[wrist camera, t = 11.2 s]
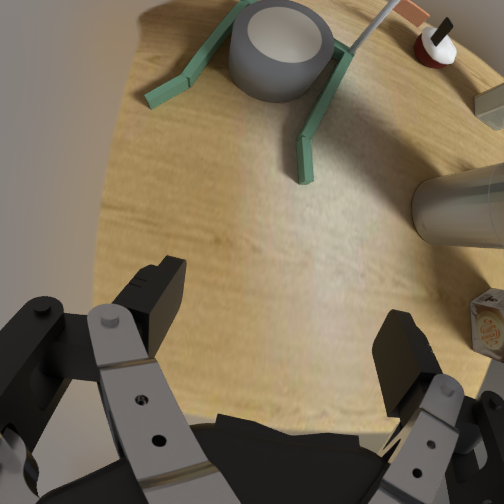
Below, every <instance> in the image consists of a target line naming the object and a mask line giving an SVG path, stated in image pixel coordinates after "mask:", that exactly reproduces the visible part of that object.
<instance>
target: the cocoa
mask: <svg viewBox="0 0 504 504" xmlns="http://www.w3.org/2000/svg"><path fill="white" fill-rule="evenodd" d="M452 28H453V24H452V23H451V21H450V20H449V18H448V17H446V18H445V19H444V21H443V22H442V23H441V25H440V26H439V27H438V28H431V27H426V28H425V29H423V32H422V33H421V34H420V35H419V36H418V38H417V40H416V42H415V45H414V50H415V54H416V56H417V58H418V59H419V60H420V61H421V62H422V64H424V65H425V66H427V67H429V68H434V69H438V68H442V67H444V66H446V65H448V64H452V63H453V62H454V59H455V56H456V48H455V47H454V45H453V44H452V42H451V40H450V38H449V37H448V35H447V34H448V33H449V32H450V30H451V29H452Z"/></svg>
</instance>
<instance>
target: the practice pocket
mask: <svg viewBox="0 0 504 504" xmlns="http://www.w3.org/2000/svg"><path fill="white" fill-rule="evenodd" d="M254 2H257V0H240V1H239V2H238V3H237V4H236V5H235V6H234V8H233V9H232V10H231V11H230V12H229V13H228V14H227V16H226V17H225V18H224V19H223V20H222V22H221V23H220V24H219V25H218V26H217V28H216V29H215V30H214V31H213V33H212V34H211V35H210V36H209V38H208V39H207V40H206V41H205V43H204V44H203V45H202V47H201V48H200V49H199V50H198V52H197V53H196V54H195V56H194V57H193V58H192V60H191V61H190V63H189V64H188V65H187V67H186V68H185V69H184V71H183V72H182V74H181V75H179V76H177V77H175V78H174V79H172V80H170V81H168V82H166V83H164V84H163V85H161V86H159V87H157V88H156V89H154V90H152V91H150V92H149V93H147V94H145V95H144V96H145V98H146V101H147V103H148V105H149V106H150V108H151V110H152V109H154V108H155V107H157V106H159V105H160V104H162V103H164V102H166V101H167V100H169V99H171V98H173V97H174V96H176V95H178V94H180V93H182V92H183V91H185V90H187V89H188V87H192V85H193V84H194V82H195V81H196V79H197V78H198V76H199V75H200V74H201V72H202V71H203V69H204V68H205V67H206V65H207V64H208V62H209V61H210V60H211V58H212V57H213V56H214V54H215V53H216V52H217V50H218V49H219V48H220V46H221V45H222V44H223V42H224V41H225V40H226V38H227V37H228V36H229V35H230V33H231V32H232V31H233V25H234V21H235V19H236V17H237V15H238V14H239V13H240V11H241V10H243V9H244V8H245V7H247V6H248V5H250V4H252V3H254ZM392 10H394V11H395V12H397V13H398V14H400V15H401V16H402V17H404V18H405V19H407V20H408V21H409V22H411V23H412V24H414V25H415V26H416V27H419V26H420V25H421V24H422V23H423V22H424V21H426V20H427V19H428V18H429V17H430V15H429V14H428V13H426V12H425V11H424V10H422V9H421V8H420V7H418V6H417V5H416V4H414V3H413V2H411V1H410V0H390V1H389V2H388V3H387V5H386V6H385V7H384V8H383V9H382V10H381V12H380V13H379V14H378V15H377V16H376V17H375V19H374V20H373V21H372V22H371V23H370V24H369V26H368V27H367V28H366V29H365V30H364V32H363V33H362V34H361V35H360V36H359V38H358V39H357V40H356V41H355V42H354V44H353V45H352V46H351V47H350V48H349V47H348V46H346V45H344V44H343V43H341V42H339V41H338V40H336V39H334V52H333V55H332V57H333V58H334V59H336V60H338V62H337V64H336V66H335V68H334V70H333V72H332V73H331V75H330V77H329V79H328V81H327V83H326V85H325V86H324V88H323V90H322V92H321V94H320V96H319V98H318V100H317V101H316V103H315V105H314V107H313V109H312V111H311V113H310V115H309V116H308V118H307V120H306V122H305V124H304V126H303V128H302V130H301V132H300V133H299V135H298V137H297V139H296V141H297V143H296V149H297V164H298V179H299V185H307V184H309V183H311V182H313V181H314V174H313V160H312V148H311V139H312V137H313V135H314V133H315V131H316V129H317V127H318V125H319V123H320V121H321V119H322V117H323V115H324V113H325V112H326V110H327V108H328V106H329V104H330V102H331V100H332V98H333V96H334V94H335V92H336V90H337V88H338V86H339V84H340V82H341V80H342V78H343V76H344V74H345V72H346V70H347V68H348V66H349V65H350V63H351V61H352V59H353V57H354V55H355V53H356V50H357V49H358V48H359V47H360V45H361V44H362V43H363V42H364V41H365V40H366V39H367V37H368V36H369V35H370V34H371V33H372V32H373V31H374V30H375V28H376V27H377V26H378V25H379V24H380V23H381V22H382V21H383V19H384V18H385V17H386V16H387V15H388V14H389V13H390V12H391V11H392Z"/></svg>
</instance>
